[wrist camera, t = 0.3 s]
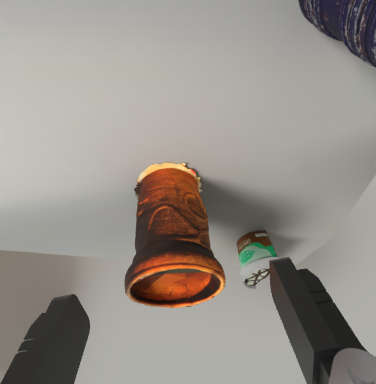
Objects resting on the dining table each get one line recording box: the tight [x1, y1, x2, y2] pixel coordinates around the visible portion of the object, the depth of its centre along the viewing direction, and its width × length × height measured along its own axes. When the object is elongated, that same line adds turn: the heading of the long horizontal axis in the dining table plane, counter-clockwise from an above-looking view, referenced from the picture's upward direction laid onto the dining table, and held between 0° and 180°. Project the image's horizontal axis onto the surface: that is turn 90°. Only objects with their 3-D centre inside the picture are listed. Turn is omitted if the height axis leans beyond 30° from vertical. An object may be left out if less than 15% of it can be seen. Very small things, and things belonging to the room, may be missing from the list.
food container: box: [237, 231, 280, 289], centre depth 63 cm, size 12×6×10 cm, turn 161°
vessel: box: [125, 162, 225, 308], centre depth 44 cm, size 14×14×20 cm
